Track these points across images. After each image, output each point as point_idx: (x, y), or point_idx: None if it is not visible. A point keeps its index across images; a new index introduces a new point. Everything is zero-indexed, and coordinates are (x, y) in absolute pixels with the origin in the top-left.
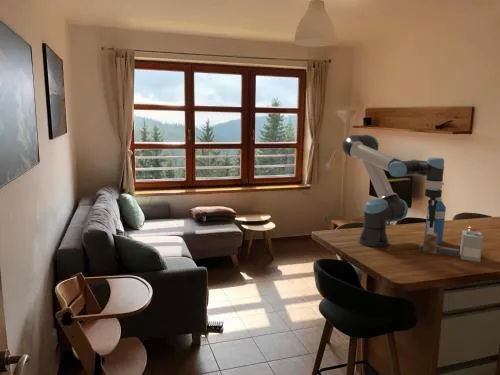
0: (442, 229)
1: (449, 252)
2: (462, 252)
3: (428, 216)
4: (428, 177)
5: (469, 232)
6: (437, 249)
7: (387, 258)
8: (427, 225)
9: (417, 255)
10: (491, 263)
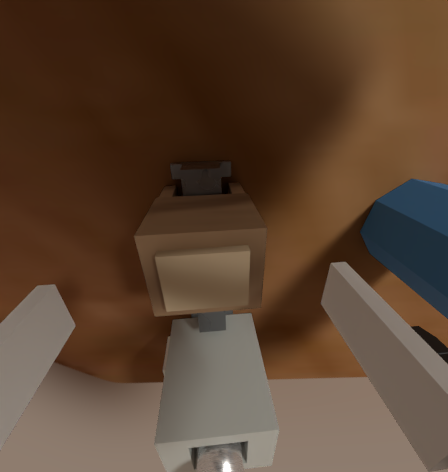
0: (432, 305)
1: None
2: (168, 345)
3: (441, 390)
4: None
5: (202, 465)
6: None
7: None
8: (340, 273)
9: (97, 158)
10: None
